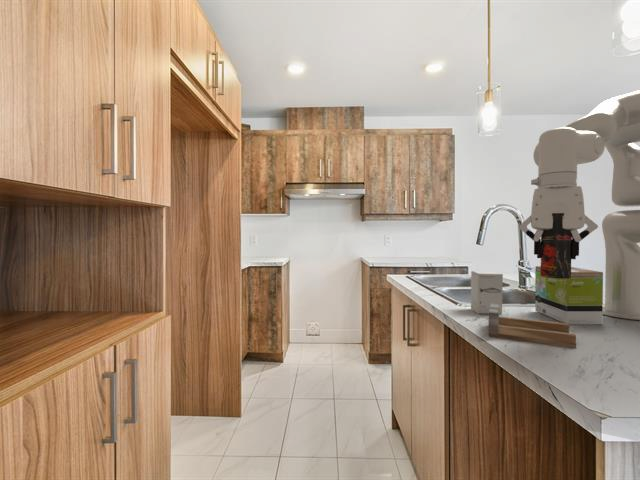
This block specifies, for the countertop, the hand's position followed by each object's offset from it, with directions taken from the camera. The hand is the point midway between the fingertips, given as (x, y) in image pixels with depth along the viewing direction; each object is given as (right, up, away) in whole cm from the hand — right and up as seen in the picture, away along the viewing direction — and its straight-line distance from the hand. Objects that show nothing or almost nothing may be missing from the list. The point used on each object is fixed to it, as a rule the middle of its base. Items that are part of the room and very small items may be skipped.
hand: (555, 257), depth 79 cm
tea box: (+16, -19, +19) cm, 31 cm away
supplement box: (-3, -19, +27) cm, 33 cm away
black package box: (0, -5, 0) cm, 5 cm away
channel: (-5, -19, +2) cm, 20 cm away
